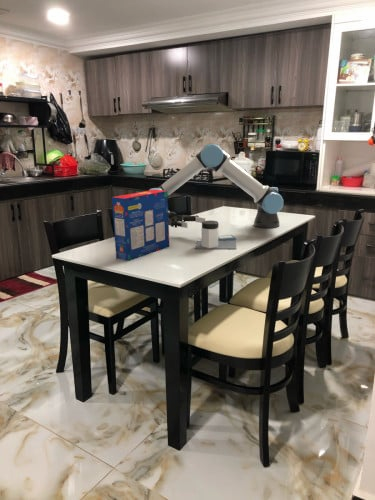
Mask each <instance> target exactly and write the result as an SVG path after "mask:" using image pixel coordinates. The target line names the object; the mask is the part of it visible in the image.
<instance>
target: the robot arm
mask: <svg viewBox="0 0 375 500" xmlns="http://www.w3.org/2000/svg"><path fill="white" fill-rule="evenodd" d="M207 168H209V169H211V170H213V171H214V172H215V173H221V174H222V175H223V176H225V177H226V178H227V179H228V180H230V181H231V182H233V183H234V184H235V185H236V186H237V187H239V188H240V189H241V190H243V191H244V192H245V193H247V194H248V195H249V196H251V198H253V202H254V203H255V204H256V206H257V207H256V208H257V211H256V215H255V218H254V221H253V226H254V227H257V228H264V229H273V228H274V229H275V228H278V227H280V220H279V216H278V213H279V212H280V211H281V210H282V209H283V207H284V199H283V196H282V195H281V194H280V193H279V188H278V187H275V186H274V187H273V186H272V187H270V186H269V185H263V184H262V183H261V182H259V181H258V180H257V179H256V178H255V177H253V176H252V175H251V174H249V173H248V172H247V171H246V170H244V168H242V167H241V166H239V165H238V164H237V163H235V162H234V161H233V160H232V159H231V158H230V154H229V153H227V152H226V151H225V150H223V148H221V146H219V145H218V144H215V143H207V144H206V145H204V147H202V149H201V150H200V151H199V152H198V153H197V154H196V155H194V158H193V160H191V161H190V162H189V163H187V164H186V165H185V166H184V167H182V168H181V169H180V170H178V171H176V173H174V174H173V175H172V176H171V177H170V178H169V179H167V180H166V181H164V182H163V183H162V184H161V185H160V186H158V187H154V188H153V187H152V188H149V190H148V191H150V190H164V191H168V197H169V196H170V195H171V194H173V193H174V192H175V191H176V190H178V189H179V188H180V187H182V186H183V185H184V184H185V183H187V182H188V181H189V180H191V179H192V178H193V177H195V176H196V175H197V174H198V173H199V172H201V171H202V170H206V169H207ZM168 220H169V227H171V228H175V229H177V228H178V227H179V228H184V229H188V226H189V225H188V222H195V223H200V224H202V222H203V221H206V217H201V216H200V217H199V215H198V214H197V215H185V214H182V215H178V214H177V213H176V212H175V211H170V210H168Z"/></svg>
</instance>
